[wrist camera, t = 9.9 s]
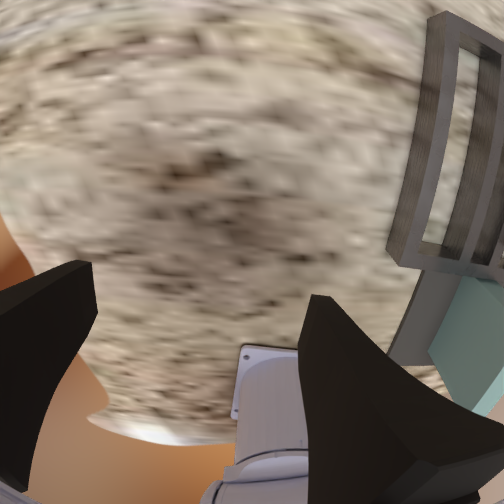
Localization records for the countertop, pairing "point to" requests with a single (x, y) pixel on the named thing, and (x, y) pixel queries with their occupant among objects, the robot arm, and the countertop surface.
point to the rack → (476, 166)
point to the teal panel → (472, 345)
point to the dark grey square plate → (424, 318)
